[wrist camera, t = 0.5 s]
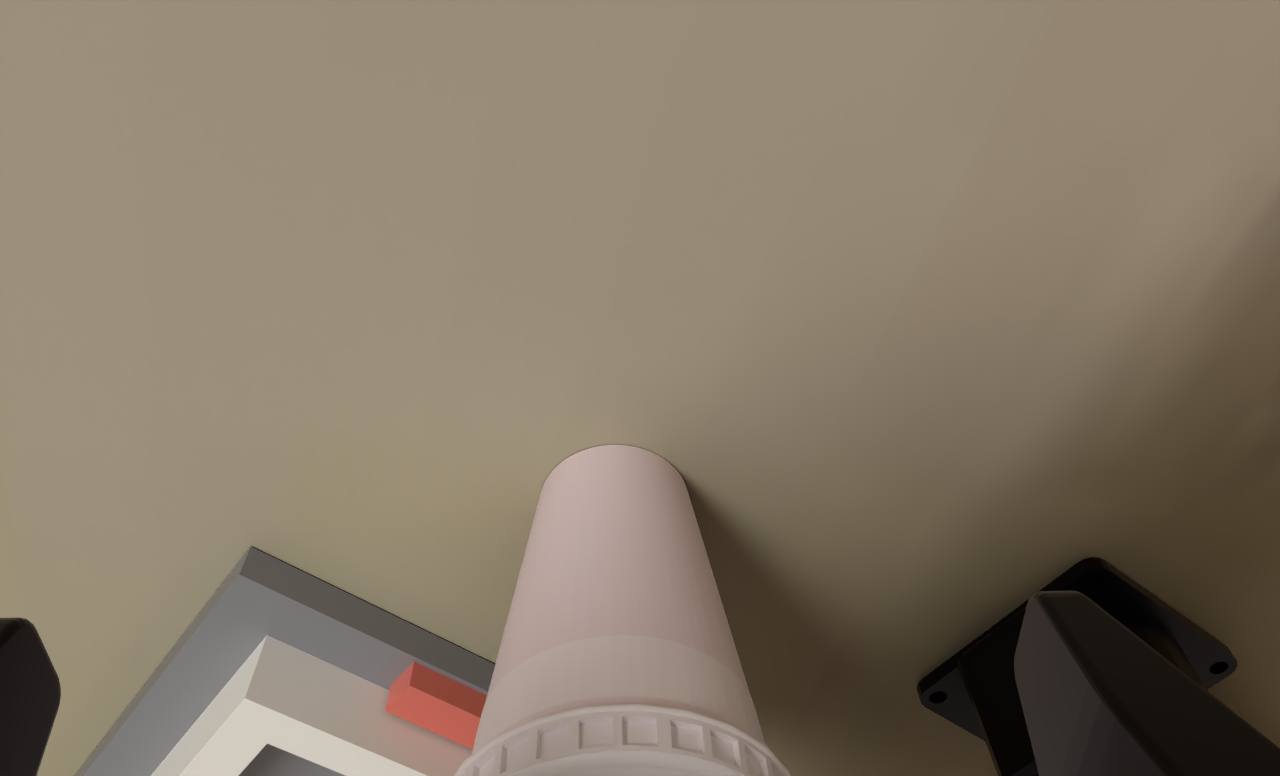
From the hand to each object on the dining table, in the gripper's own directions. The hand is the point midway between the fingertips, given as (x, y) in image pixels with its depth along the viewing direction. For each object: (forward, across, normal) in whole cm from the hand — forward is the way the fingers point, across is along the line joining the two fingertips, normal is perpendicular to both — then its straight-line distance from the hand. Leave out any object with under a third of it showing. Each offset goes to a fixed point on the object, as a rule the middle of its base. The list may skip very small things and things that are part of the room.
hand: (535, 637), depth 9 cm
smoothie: (+14, 0, +9) cm, 16 cm away
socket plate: (+14, +8, +19) cm, 25 cm away
